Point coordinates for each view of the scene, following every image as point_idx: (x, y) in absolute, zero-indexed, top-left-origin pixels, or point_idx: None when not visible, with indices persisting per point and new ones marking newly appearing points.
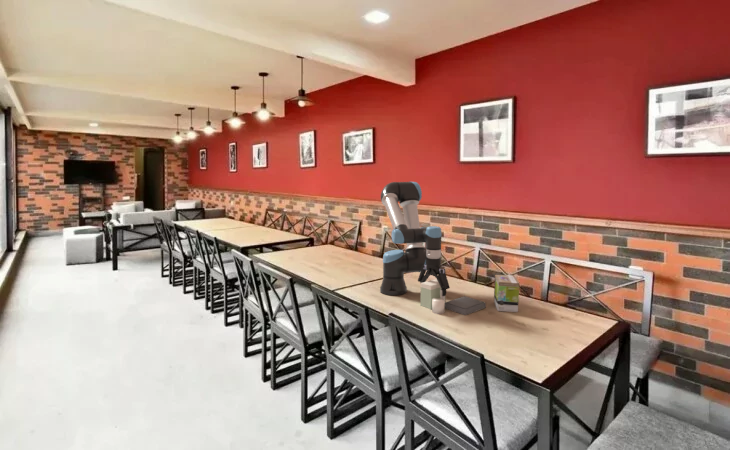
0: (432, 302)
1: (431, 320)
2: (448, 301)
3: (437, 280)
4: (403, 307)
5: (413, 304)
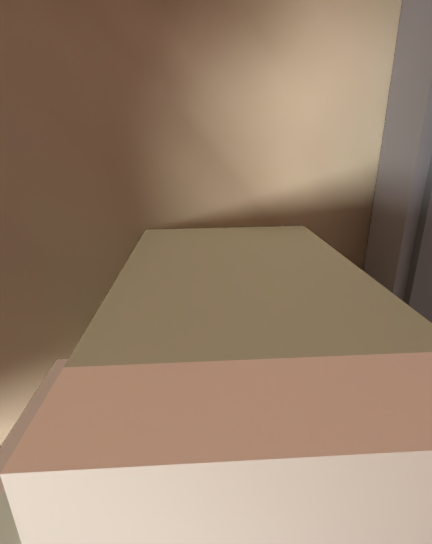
0: None
1: None
2: (416, 292)
3: (221, 529)
4: None
5: None
